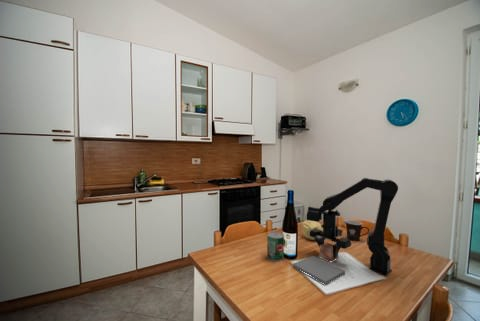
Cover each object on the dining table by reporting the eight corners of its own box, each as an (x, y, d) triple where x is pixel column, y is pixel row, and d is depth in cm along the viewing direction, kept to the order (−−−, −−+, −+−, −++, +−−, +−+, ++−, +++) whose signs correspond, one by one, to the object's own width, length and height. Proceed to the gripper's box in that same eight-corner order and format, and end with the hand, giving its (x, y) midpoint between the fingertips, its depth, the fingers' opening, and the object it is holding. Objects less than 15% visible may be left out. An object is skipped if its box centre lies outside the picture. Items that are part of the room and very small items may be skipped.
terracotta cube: (337, 259, 102) (338, 246, 102) (330, 262, 98) (331, 249, 98) (326, 254, 107) (326, 242, 106) (319, 257, 103) (319, 245, 103)
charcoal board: (345, 274, 89) (345, 270, 89) (325, 285, 81) (325, 281, 81) (312, 258, 102) (312, 255, 102) (292, 267, 94) (292, 263, 94)
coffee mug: (342, 237, 129) (342, 221, 128) (351, 235, 132) (352, 219, 132) (360, 245, 118) (360, 227, 118) (369, 242, 122) (370, 225, 122)
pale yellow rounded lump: (298, 235, 131) (298, 218, 131) (315, 233, 135) (315, 216, 134) (309, 243, 120) (310, 224, 120) (327, 240, 124) (327, 222, 124)
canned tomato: (283, 262, 98) (283, 238, 98) (266, 260, 100) (266, 237, 99) (283, 254, 106) (283, 232, 106) (267, 252, 107) (268, 231, 107)
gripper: (357, 225, 99) (356, 258, 99) (322, 216, 114) (321, 244, 115) (344, 230, 93) (344, 265, 93) (309, 219, 108) (308, 249, 108)
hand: (328, 255), depth 102 cm, fingers closed on terracotta cube, 6 cm apart
